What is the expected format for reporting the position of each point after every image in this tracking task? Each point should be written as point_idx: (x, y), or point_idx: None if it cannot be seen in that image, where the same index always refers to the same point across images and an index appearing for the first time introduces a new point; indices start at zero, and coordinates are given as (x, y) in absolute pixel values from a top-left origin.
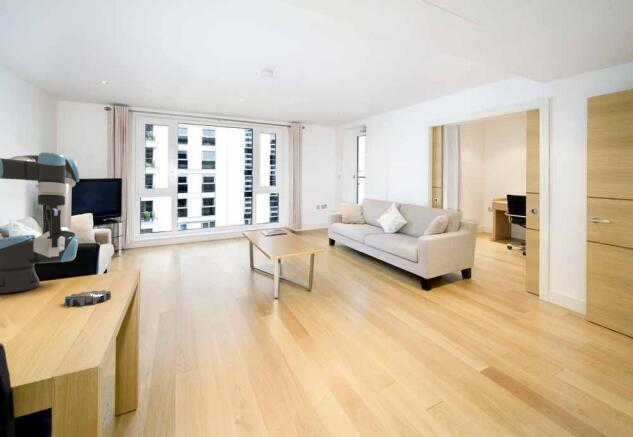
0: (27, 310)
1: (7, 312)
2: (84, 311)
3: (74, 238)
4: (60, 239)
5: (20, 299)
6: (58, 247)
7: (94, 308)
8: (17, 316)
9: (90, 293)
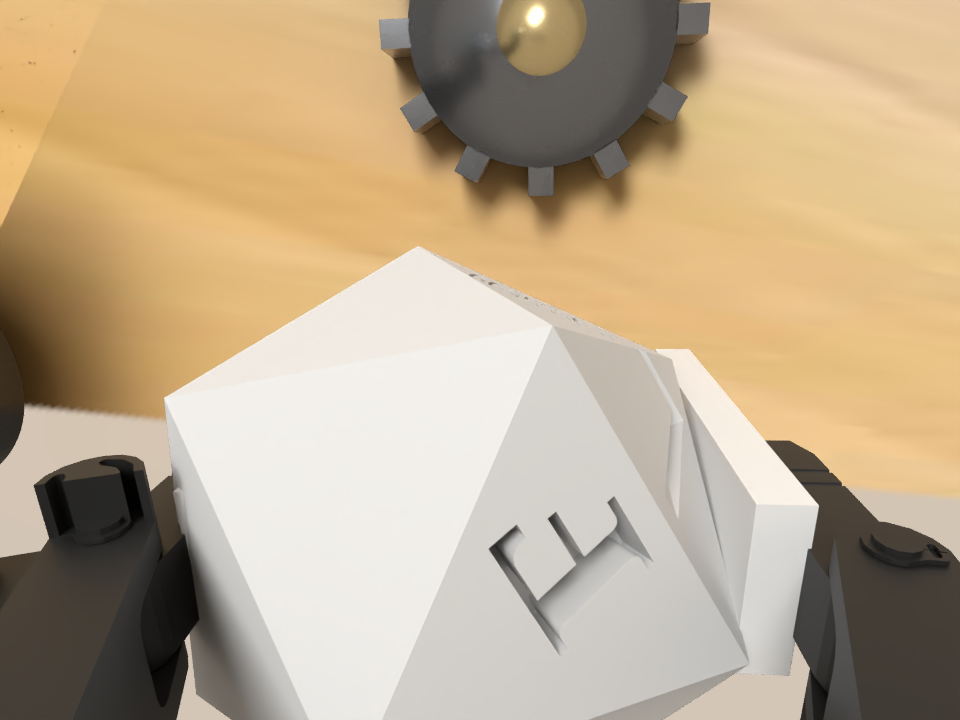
0: None
1: None
2: (839, 138)
3: None
4: (630, 425)
5: (122, 354)
6: (733, 411)
7: (821, 66)
8: None
9: (498, 1)
